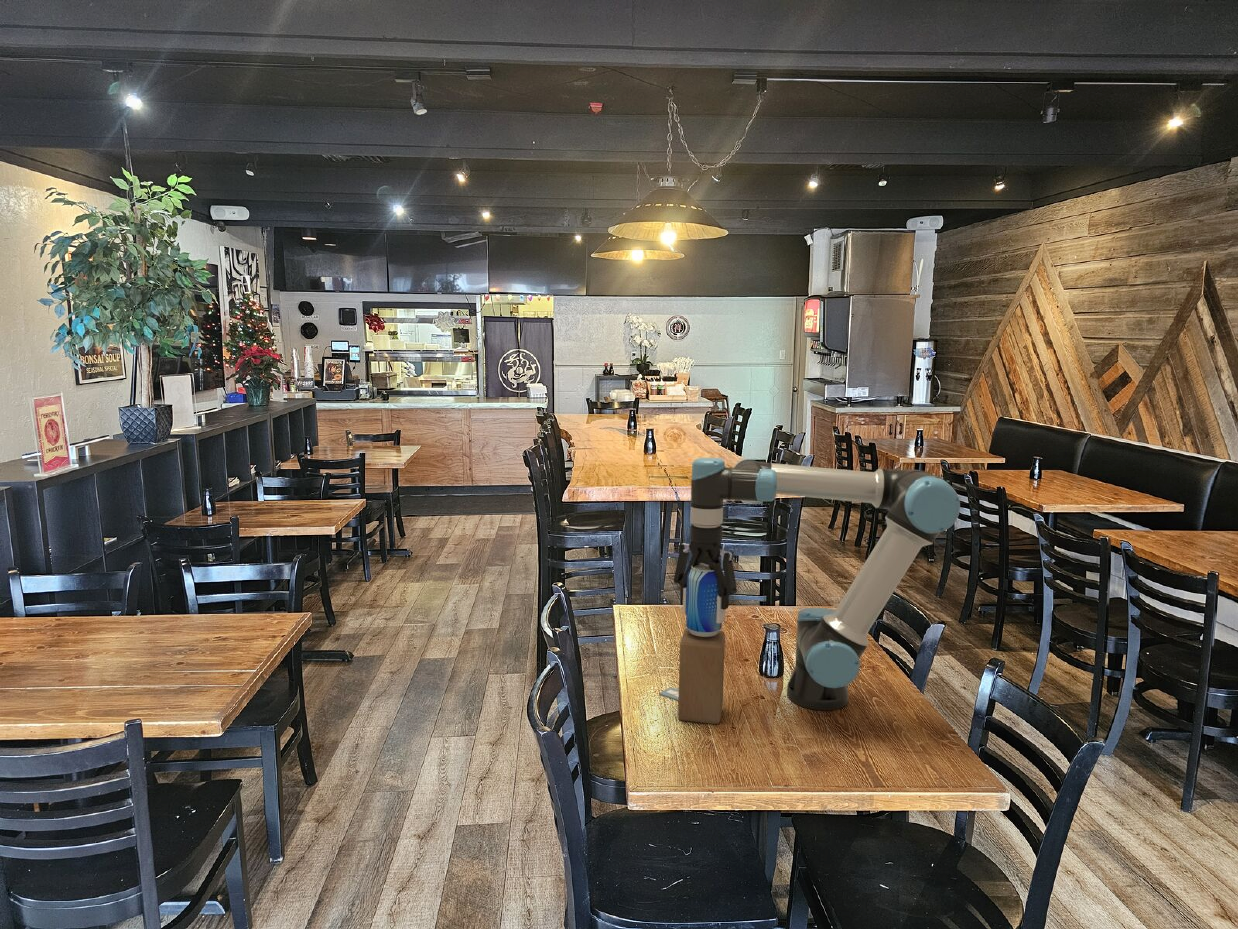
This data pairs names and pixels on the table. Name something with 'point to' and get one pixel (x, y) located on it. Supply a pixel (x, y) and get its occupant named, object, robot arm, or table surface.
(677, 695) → the card
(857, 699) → the table surface
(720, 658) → the block
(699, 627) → the beer can
